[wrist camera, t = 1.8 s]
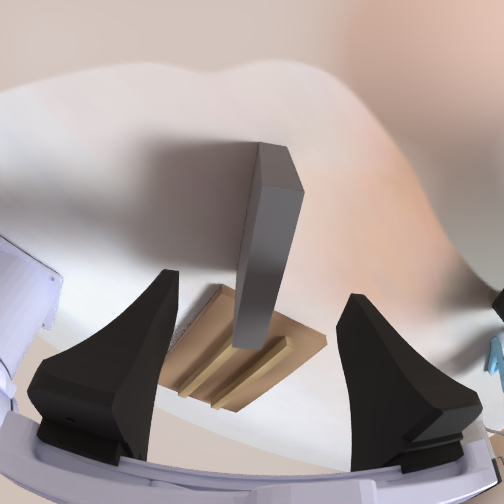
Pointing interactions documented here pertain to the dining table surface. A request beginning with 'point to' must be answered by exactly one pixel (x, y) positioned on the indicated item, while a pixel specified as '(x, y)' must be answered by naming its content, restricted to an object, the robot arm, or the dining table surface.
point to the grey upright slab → (265, 243)
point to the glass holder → (480, 431)
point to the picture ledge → (234, 356)
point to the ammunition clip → (499, 305)
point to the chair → (496, 360)
